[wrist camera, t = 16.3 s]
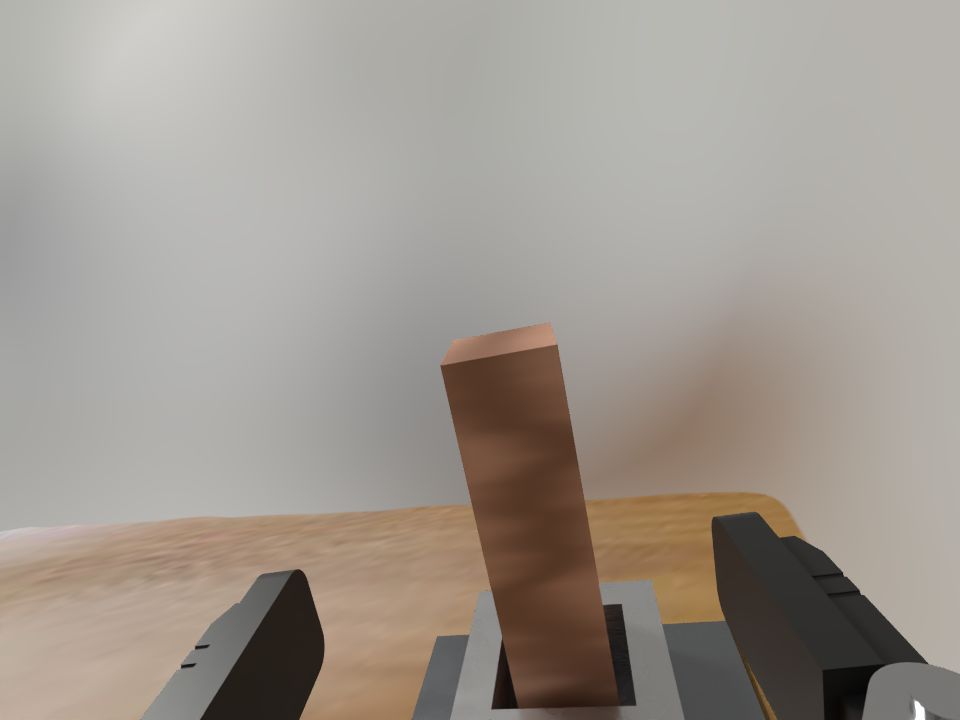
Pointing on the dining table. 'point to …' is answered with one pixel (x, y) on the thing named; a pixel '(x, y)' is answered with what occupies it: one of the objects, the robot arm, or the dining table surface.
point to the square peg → (531, 515)
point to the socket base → (689, 662)
